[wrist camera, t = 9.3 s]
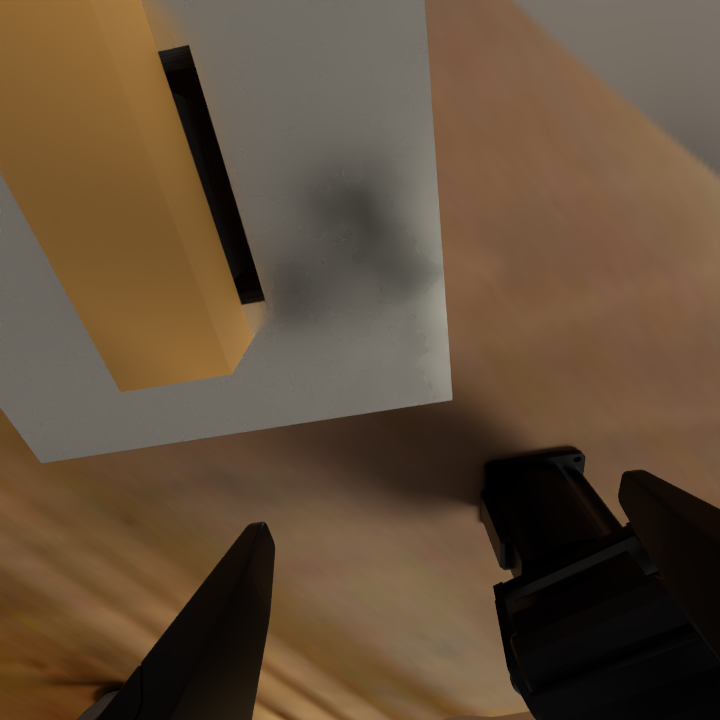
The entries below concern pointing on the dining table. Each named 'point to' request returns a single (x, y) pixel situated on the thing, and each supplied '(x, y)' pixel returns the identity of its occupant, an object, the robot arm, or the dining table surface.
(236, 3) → the rosette plate
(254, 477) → the dining table surface
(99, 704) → the pocket watch
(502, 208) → the dining table surface
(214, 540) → the dining table surface
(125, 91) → the wedge pin
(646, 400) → the dining table surface
